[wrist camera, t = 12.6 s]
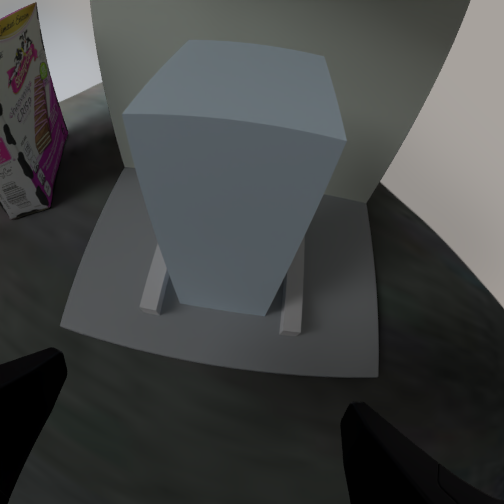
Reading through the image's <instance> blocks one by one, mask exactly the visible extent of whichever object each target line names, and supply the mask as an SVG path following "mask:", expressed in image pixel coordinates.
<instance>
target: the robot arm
mask: <svg viewBox="0 0 504 504" xmlns="http://www.w3.org/2000/svg"><path fill="white" fill-rule="evenodd" d="M66 377H67V367H66V363H65V359H64V355H63V353H62V351H60V350H58V349H55V348H52V347H51V348H48V349H45V350H42V351H39V352H36V353H33V354H30V355H27V356H24V357H22V358H19V359H16V360H13V361H10V362H7V363H4V364H1V365H0V504H8V502H9V498H10V496H11V494H12V491H13V489H14V487H15V484H16V482H17V480H18V477H19V475H20V473H21V471H22V468H23V466H24V464H25V462H26V460H27V458H28V456H29V454H30V452H31V450H32V448H33V446H34V444H35V442H36V440H37V438H38V436H39V434H40V432H41V430H42V428H43V426H44V425H45V423H46V421H47V419H48V417H49V415H50V413H51V411H52V409H53V407H54V405H55V402H56V400H57V398H58V395H59V393H60V391H61V388H62V386H63V384H64V382H65V379H66ZM341 437H342V450H343V463H344V470H345V475H346V481H347V486H348V491H349V497H350V502H351V504H504V500H499V499H496V498H494V497H492V496H490V495H488V494H486V493H484V492H482V491H481V490H479V489H477V488H475V487H473V486H472V485H470V484H468V483H467V482H465V481H463V480H462V479H460V478H459V477H457V476H456V475H454V474H453V473H451V472H450V471H449V470H447V469H446V468H445V467H443V466H442V465H441V464H438V462H437V461H436V460H434V459H433V458H432V457H430V456H429V455H428V454H427V453H425V452H424V451H423V450H422V449H420V448H419V447H418V446H417V445H415V444H414V443H413V442H412V441H410V440H409V439H408V438H407V437H405V436H404V435H403V434H402V433H400V432H399V431H398V430H397V429H396V428H394V427H393V426H392V425H391V424H390V423H388V422H387V421H386V420H385V419H384V418H382V417H381V416H380V415H379V414H378V413H376V412H375V411H374V410H373V409H372V408H371V407H369V406H368V405H367V404H366V403H364V402H352V403H350V404H349V406H348V408H347V410H346V412H345V414H344V416H343V418H342V420H341Z"/></svg>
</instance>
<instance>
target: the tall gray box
mask: <svg viewBox="0 0 504 504" xmlns="http://www.w3.org/2000/svg"><path fill="white" fill-rule="evenodd" d="M122 117H123V121H124V126H125V130H126V134H127V138H128V142H129V146H130V150H131V154H132V158H133V162H134V166H135V169H136V173H137V177H138V180H139V184H140V187H141V191H142V194H143V198H144V201H145V204H146V208H147V211H148V214H149V217H150V220H151V223H152V227H153V230H154V233H155V236H156V239H157V242H158V245H159V248H160V250H161V253H162V256H163V259H164V262H165V265H166V267H167V270H168V273H169V276H170V278H171V281H172V284H173V286H174V289H175V292H176V294H177V297H178V299H179V302H180V303H181V304H187V305H192V306H198V307H205V308H211V309H217V310H224V311H230V312H237V313H244V314H252V315H259V316H265V315H266V313H267V311H268V309H269V307H270V305H271V303H272V301H273V299H274V297H275V295H276V293H277V291H278V289H279V287H280V285H281V283H282V281H283V279H284V277H285V275H286V273H287V271H288V269H289V267H290V265H291V263H292V261H293V259H294V257H295V254H296V252H297V250H298V248H299V246H300V244H301V242H302V240H303V238H304V236H305V233H306V231H307V229H308V227H309V225H310V223H311V221H312V218H313V216H314V214H315V212H316V210H317V208H318V205H319V203H320V201H321V199H322V197H323V194H324V192H325V190H326V188H327V185H328V183H329V181H330V179H331V176H332V174H333V172H334V170H335V167H336V165H337V163H338V160H339V158H340V156H341V154H342V151H343V149H344V147H345V144H346V142H347V139H346V135H345V130H344V126H343V122H342V118H341V114H340V110H339V106H338V102H337V98H336V94H335V91H334V87H333V84H332V80H331V77H330V73H329V70H328V67H327V63H326V60H325V57H324V56H320V55H316V54H312V53H307V52H302V51H297V50H292V49H287V48H281V47H274V46H268V45H260V44H252V43H243V42H232V41H217V40H188V41H187V42H186V43H185V44H184V45H183V46H182V47H181V48H180V49H179V50H178V51H177V52H176V53H175V54H174V55H173V56H172V57H171V58H170V59H169V60H168V61H167V62H166V63H165V64H164V65H163V66H162V67H161V68H160V70H159V71H158V72H157V73H156V74H155V75H154V76H153V77H152V78H151V79H150V81H149V82H148V83H147V84H146V85H145V86H144V87H143V89H142V90H141V91H140V92H139V93H138V95H137V96H136V97H135V98H134V99H133V101H132V102H131V103H130V104H129V106H128V107H127V108H126V109H125V111H124V112H123V113H122Z"/></svg>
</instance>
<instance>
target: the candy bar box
mask: <svg viewBox="0 0 504 504" xmlns="http://www.w3.org/2000/svg"><path fill="white" fill-rule="evenodd" d="M67 135H68V130H67V127H66V124H65V121H64V118H63V116H62V112H61V109H60V106H59V103H58V100H57V97H56V93H55V90H54V87H53V83H52V79H51V76H50V72H49V68H48V64H47V59H46V54H45V49H44V45H43V40H42V34H41V29H40V23H39V18H38V11H37V3H36V2H35V3H33V4H30V5H28V6H26V7H24V8H21V9H19V10H17V11H15V12H13V13H11V14H9V15H7V16H5V17H3V18H1V19H0V205H1V207H2V208H3V209H4V211H5V212H6V213H7V215H8V216H9V217H10V219H11V220H13V219H16V218H19V217H22V216H25V215H28V214H32V213H35V212H39V211H42V210H45V209H48V208H50V206H51V200H52V195H53V189H54V185H55V180H56V176H57V171H58V167H59V163H60V160H61V156H62V152H63V149H64V145H65V142H66V139H67Z"/></svg>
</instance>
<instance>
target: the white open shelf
mask: <svg viewBox="0 0 504 504" xmlns="http://www.w3.org/2000/svg"><path fill="white" fill-rule="evenodd" d="M469 3H470V0H90V5H91V14H92V22H93V29H94V36H95V43H96V49H97V55H98V60H99V66H100V71H101V76H102V81H103V86H104V90H105V95H106V99H107V104H108V108H109V112H110V116H111V120H112V124H113V128H114V132H115V135H116V139H117V143H118V146H119V150H120V153H121V157H122V160H123V164H124V169H123V171H122V173H121V175H120V177H119V179H118V180H117V182H116V184H115V186H114V188H113V190H112V192H111V194H110V196H109V198H108V200H107V202H106V204H105V206H104V209H103V211H102V213H101V215H100V217H99V219H98V222H97V224H96V226H95V228H94V231H93V233H92V235H91V238H90V240H89V243H88V245H87V247H86V250H85V252H84V255H83V258H82V260H81V263H80V265H79V268H78V271H77V274H76V276H75V279H74V282H73V285H72V288H71V291H70V294H69V297H68V300H67V303H66V307H65V310H64V313H63V317H62V320H61V324H60V326H61V327H62V328H64V329H67V330H70V331H73V332H76V333H79V334H83V335H86V336H89V337H92V338H95V339H99V340H102V341H106V342H109V343H113V344H116V345H120V346H124V347H127V348H131V349H135V350H139V351H143V352H147V353H152V354H156V355H161V356H165V357H170V358H175V359H180V360H185V361H190V362H195V363H201V364H207V365H213V366H219V367H225V368H232V369H240V370H247V371H256V372H264V373H274V374H285V375H298V376H314V377H338V378H376V377H378V365H379V341H378V309H377V292H376V279H375V267H374V257H373V248H372V240H371V232H370V225H369V218H368V211H367V205H366V203H367V201H368V200H369V198H370V197H371V195H372V193H373V192H374V190H375V189H376V187H377V185H378V184H379V182H380V180H381V179H382V177H383V175H384V174H385V172H386V170H387V169H388V167H389V165H390V164H391V162H392V160H393V159H394V157H395V155H396V154H397V152H398V150H399V148H400V147H401V145H402V143H403V141H404V140H405V138H406V136H407V134H408V132H409V131H410V129H411V127H412V125H413V123H414V122H415V120H416V118H417V116H418V114H419V112H420V110H421V108H422V107H423V105H424V103H425V101H426V99H427V97H428V95H429V93H430V91H431V89H432V87H433V85H434V83H435V81H436V79H437V77H438V75H439V73H440V71H441V69H442V66H443V64H444V62H445V60H446V58H447V56H448V54H449V51H450V49H451V47H452V45H453V42H454V40H455V38H456V35H457V33H458V31H459V28H460V26H461V23H462V21H463V18H464V16H465V13H466V11H467V8H468V6H469ZM188 40H217V41H232V42H243V43H252V44H260V45H268V46H274V47H281V48H287V49H292V50H297V51H302V52H307V53H312V54H316V55H320V56H324V57H325V60H326V63H327V67H328V70H329V73H330V77H331V80H332V84H333V87H334V91H335V94H336V98H337V102H338V106H339V110H340V114H341V118H342V122H343V126H344V130H345V135H346V139H347V142H346V144H345V147H344V149H343V151H342V154H341V156H340V158H339V160H338V163H337V165H336V167H335V170H334V172H333V174H332V176H331V179H330V181H329V183H328V185H327V188H326V190H325V192H324V194H323V197H322V199H321V201H320V203H319V205H318V208H317V210H316V212H315V214H314V216H313V218H312V221H311V223H310V225H309V227H308V229H307V231H306V233H305V236H304V238H303V240H302V242H301V244H300V246H299V248H298V250H297V252H296V254H295V257H294V259H293V261H292V263H291V265H290V267H289V269H288V271H287V273H286V275H285V277H284V279H283V281H282V283H281V285H280V287H279V289H278V291H277V293H276V295H275V297H274V299H273V301H272V303H271V305H270V307H269V309H268V311H267V313H266V315H265V316H259V315H252V314H244V313H237V312H230V311H224V310H217V309H211V308H205V307H198V306H192V305H187V304H181V303H180V302H179V299H178V297H177V294H176V292H175V289H174V286H173V284H172V281H171V278H170V276H169V273H168V270H167V267H166V265H165V262H164V259H163V256H162V253H161V250H160V248H159V245H158V242H157V239H156V236H155V233H154V230H153V227H152V223H151V220H150V217H149V214H148V211H147V208H146V204H145V201H144V198H143V194H142V191H141V187H140V184H139V180H138V177H137V173H136V169H135V166H134V162H133V158H132V154H131V150H130V146H129V142H128V138H127V134H126V130H125V126H124V121H123V117H122V113H123V112H124V111H125V109H126V108H127V107H128V106H129V104H130V103H131V102H132V101H133V99H134V98H135V97H136V96H137V95H138V93H139V92H140V91H141V90H142V89H143V87H144V86H145V85H146V84H147V83H148V82H149V81H150V79H151V78H152V77H153V76H154V75H155V74H156V73H157V72H158V71H159V70H160V68H161V67H162V66H163V65H164V64H165V63H166V62H167V61H168V60H169V59H170V58H171V57H172V56H173V55H174V54H175V53H176V52H177V51H178V50H179V49H180V48H181V47H182V46H183V45H184V44H185V43H186V42H187V41H188Z"/></svg>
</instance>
